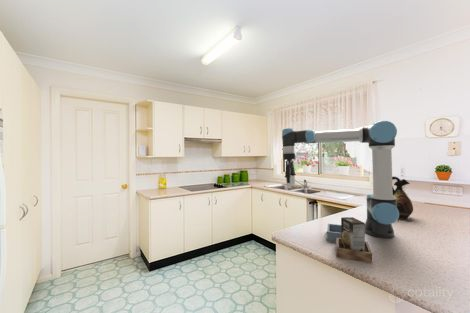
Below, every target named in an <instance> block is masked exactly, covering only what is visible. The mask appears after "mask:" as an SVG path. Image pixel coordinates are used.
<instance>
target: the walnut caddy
mask: <svg viewBox="0 0 470 313" xmlns="http://www.w3.org/2000/svg"><path fill="white" fill-rule="evenodd" d="M335 243H336V258H340V259H344V260H345V259H347V260H353V261H359V262H363V261H364V262H365V263H369V262H370V263H371V264H372V263H373V252H372V249H371V247H370V244H369V241H366V240H365V252H363V251H356V250H349V249H343V248H342V241H341V238H336V242H335Z"/></svg>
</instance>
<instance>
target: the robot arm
mask: <svg viewBox="0 0 470 313" xmlns="http://www.w3.org/2000/svg"><path fill="white" fill-rule="evenodd" d="M281 131H282V132H281V133H282V134H281V139H282V149H281V150H282V153H283V154H282V156H283V160H284V161H285V160H286V161H285V172H284V174H285V176H284V178H285V180H286V182H285V183H286V189H292V186H296V180H295V179H296V178H295V176H297V175H296V171H295V165H294V164H295V163H294V160H296V158H297V157H296V144H306V145H310V144H321V143H322V144H325V143H327V144H328V143H346V142H348V143H349V142H350V143H351V142H359V143H361V144H363V143H366V144H367V143H368V148H369V149H370V150H371V152H372V153H371V154H372V155H371V156H372V160H371V162H372V189H373V190H372V194H371V193H370V194H366V198H365V200H366V220H365V222H364V223H365V234H366V235H370V236H372V237H376V238H384V239H385V238H388V239H389V238H394V237H395V230H394V227H393V225H392V224H395V223H396V222H397V221H398V220H399V219H398V218H399V211H398V209H397V204H396V197H395V196H393V190H392V186H393V180H392V177H393V160H392V159H393V157H392V150H393V149H394V147H395V146H396V136H397V135H398V134H397V133H398V129H397V127H396V125H395V124H394V123H393V122H391V121H389V120H379V121H375V122H373V123H372V124H371V125H367V126H361V127H359V128H354V129H349V128H348V129H337V130H335V129H334V130H321V131H320V130H319V131H315V130H314V129H305V130H295V129H294V128H292V127H289V128H283V129H282V130H281Z"/></svg>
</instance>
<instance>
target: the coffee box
mask: <svg viewBox="0 0 470 313" xmlns="http://www.w3.org/2000/svg"><path fill="white" fill-rule="evenodd" d="M340 219H341V221H340V225H341V241H342V247H341V248H343V249H349V250H356V251H363V252H366V250H365V241H366V237H365V236H366V233H365V223H366V222H363V221H361V220H359V219H357V218H355V217H349V216H348V217H347V216H344V217H341V218H340Z"/></svg>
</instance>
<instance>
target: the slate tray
mask: <svg viewBox="0 0 470 313" xmlns="http://www.w3.org/2000/svg"><path fill="white" fill-rule="evenodd" d="M326 228H327V230H326V236H327V237H326V241H327V242H334V243H336V238H341V224H337V223H327V227H326Z"/></svg>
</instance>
